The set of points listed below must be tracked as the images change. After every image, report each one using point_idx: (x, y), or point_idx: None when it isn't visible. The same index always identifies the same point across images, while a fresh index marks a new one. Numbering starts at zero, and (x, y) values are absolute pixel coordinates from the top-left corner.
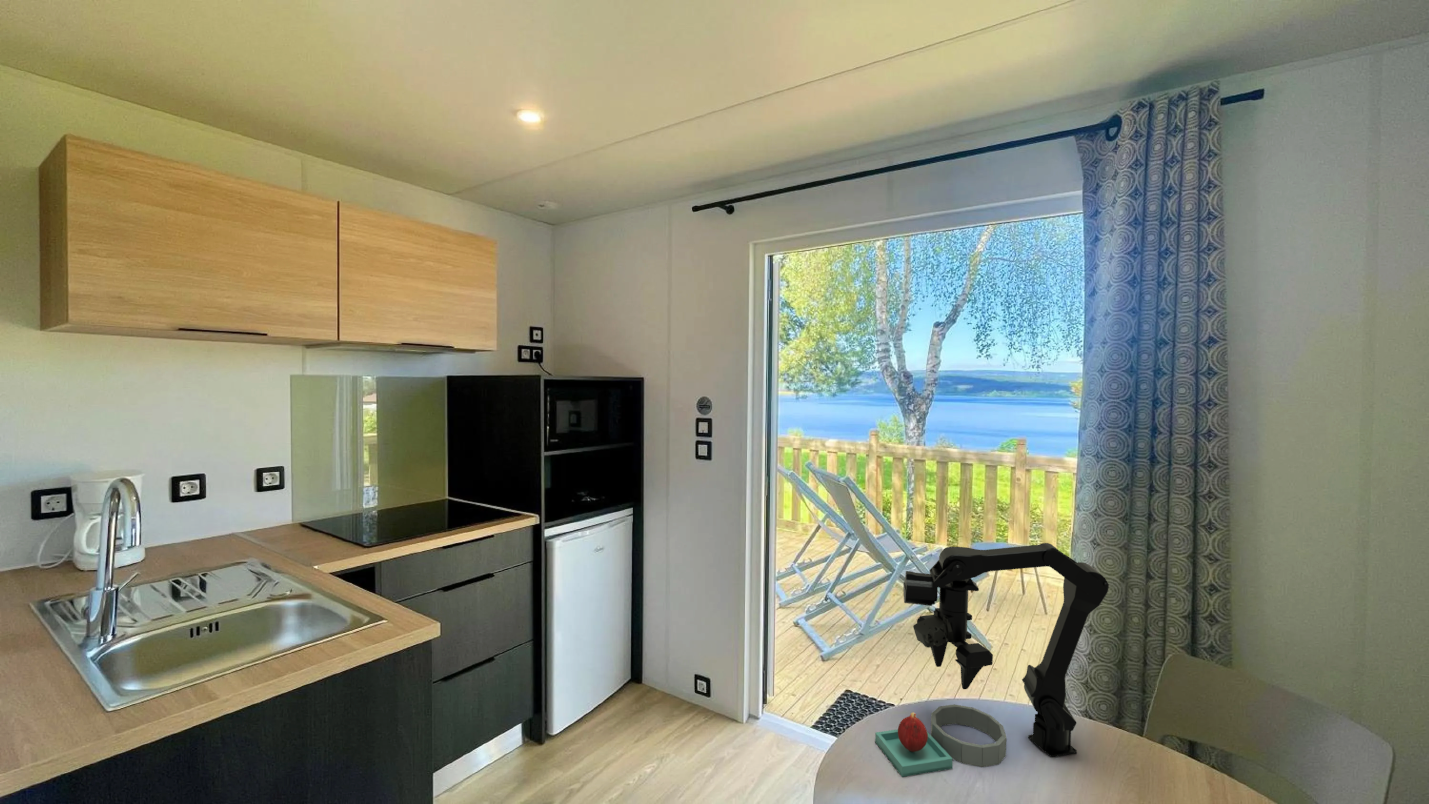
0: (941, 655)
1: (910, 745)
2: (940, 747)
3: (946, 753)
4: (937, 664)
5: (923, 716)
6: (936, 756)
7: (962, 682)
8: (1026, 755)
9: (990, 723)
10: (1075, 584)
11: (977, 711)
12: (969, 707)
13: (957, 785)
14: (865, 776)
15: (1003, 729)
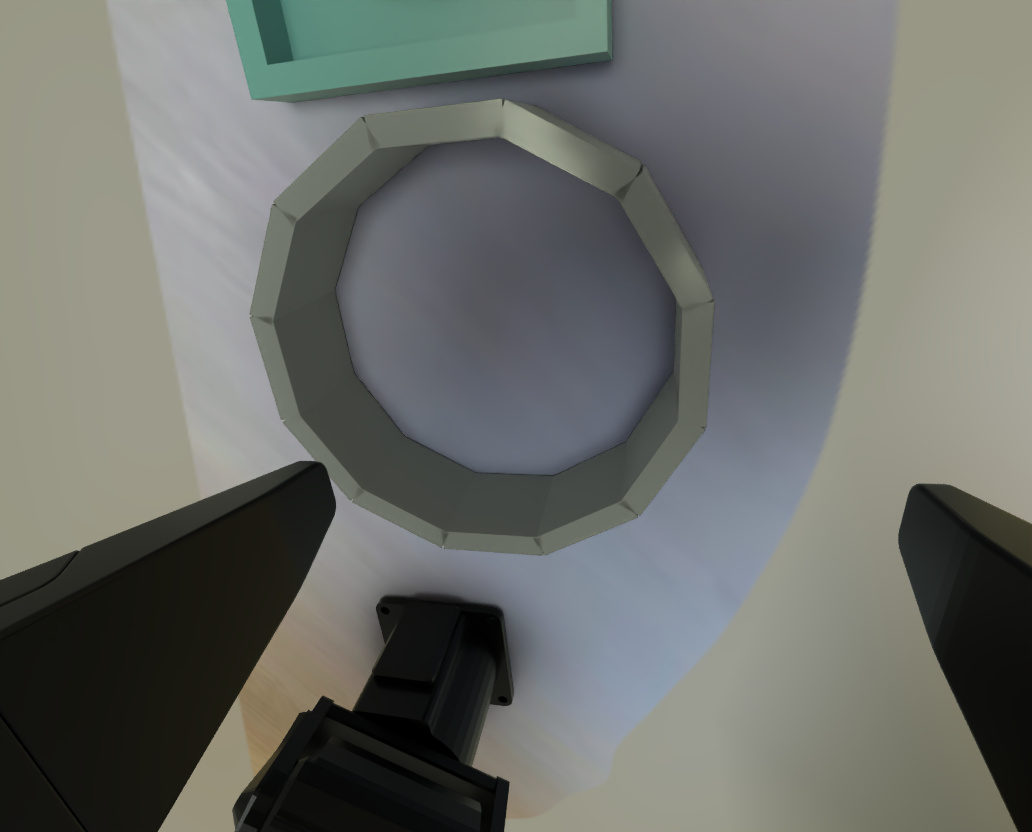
0: (994, 702)
1: None
2: (353, 71)
3: (296, 82)
4: (927, 511)
5: (815, 201)
6: (358, 34)
7: (235, 494)
8: (396, 526)
9: (521, 516)
10: None
11: (593, 514)
12: (645, 497)
13: (168, 54)
14: None
15: (414, 529)
